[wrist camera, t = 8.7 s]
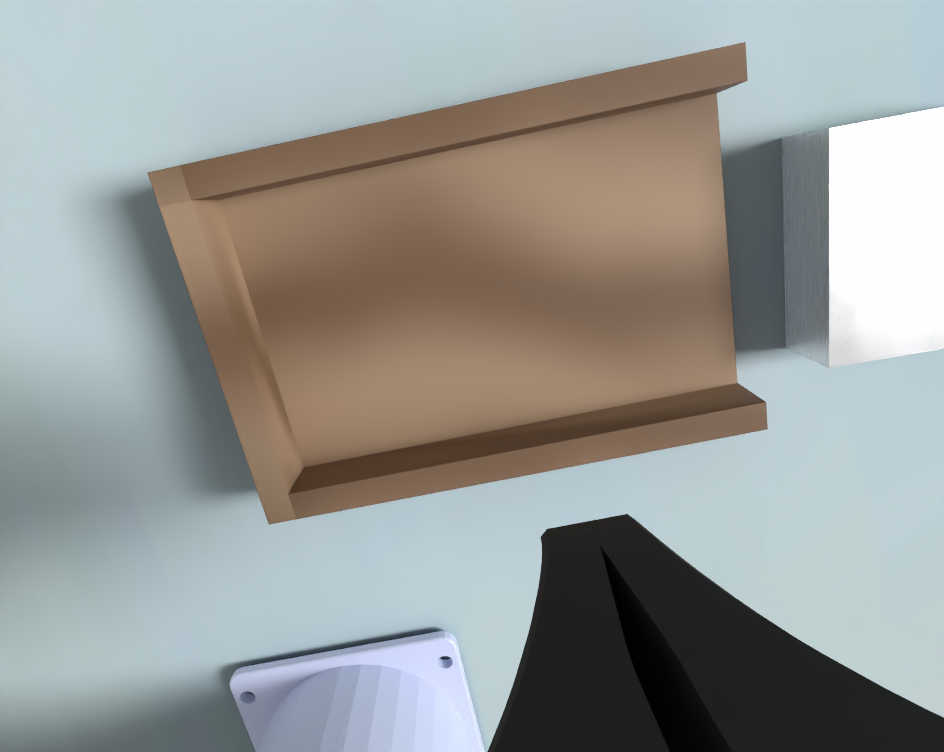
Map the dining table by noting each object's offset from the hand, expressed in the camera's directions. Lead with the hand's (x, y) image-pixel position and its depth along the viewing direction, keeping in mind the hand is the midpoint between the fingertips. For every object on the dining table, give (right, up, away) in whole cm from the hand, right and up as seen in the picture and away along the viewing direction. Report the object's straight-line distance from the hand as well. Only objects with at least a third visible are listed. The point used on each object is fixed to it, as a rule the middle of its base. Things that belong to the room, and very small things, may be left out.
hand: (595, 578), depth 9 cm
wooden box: (-2, +5, +8) cm, 10 cm away
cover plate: (+10, +7, +8) cm, 15 cm away
